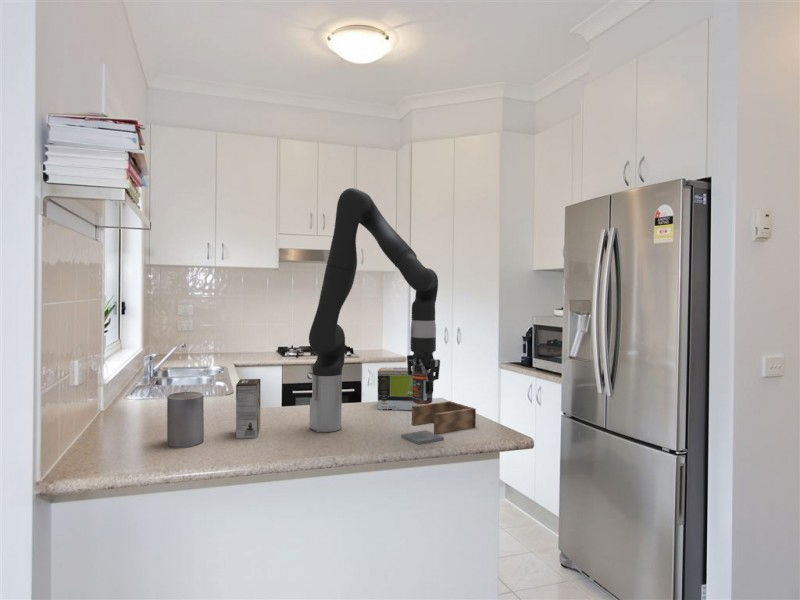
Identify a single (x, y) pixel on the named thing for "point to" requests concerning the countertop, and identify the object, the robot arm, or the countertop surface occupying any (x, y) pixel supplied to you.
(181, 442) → the pillar candle
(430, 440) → the slate coaster
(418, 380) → the supplement bottle
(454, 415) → the walnut cubby
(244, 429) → the coffee box
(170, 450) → the countertop surface
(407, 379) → the tea box
